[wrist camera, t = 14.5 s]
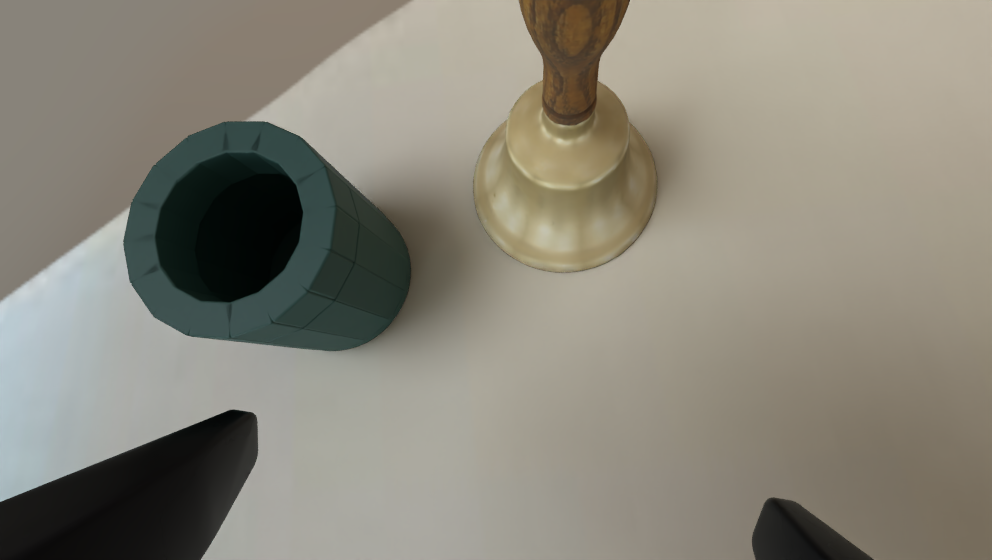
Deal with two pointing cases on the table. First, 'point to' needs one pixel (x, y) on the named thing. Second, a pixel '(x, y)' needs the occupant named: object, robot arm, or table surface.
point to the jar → (263, 244)
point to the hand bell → (566, 151)
